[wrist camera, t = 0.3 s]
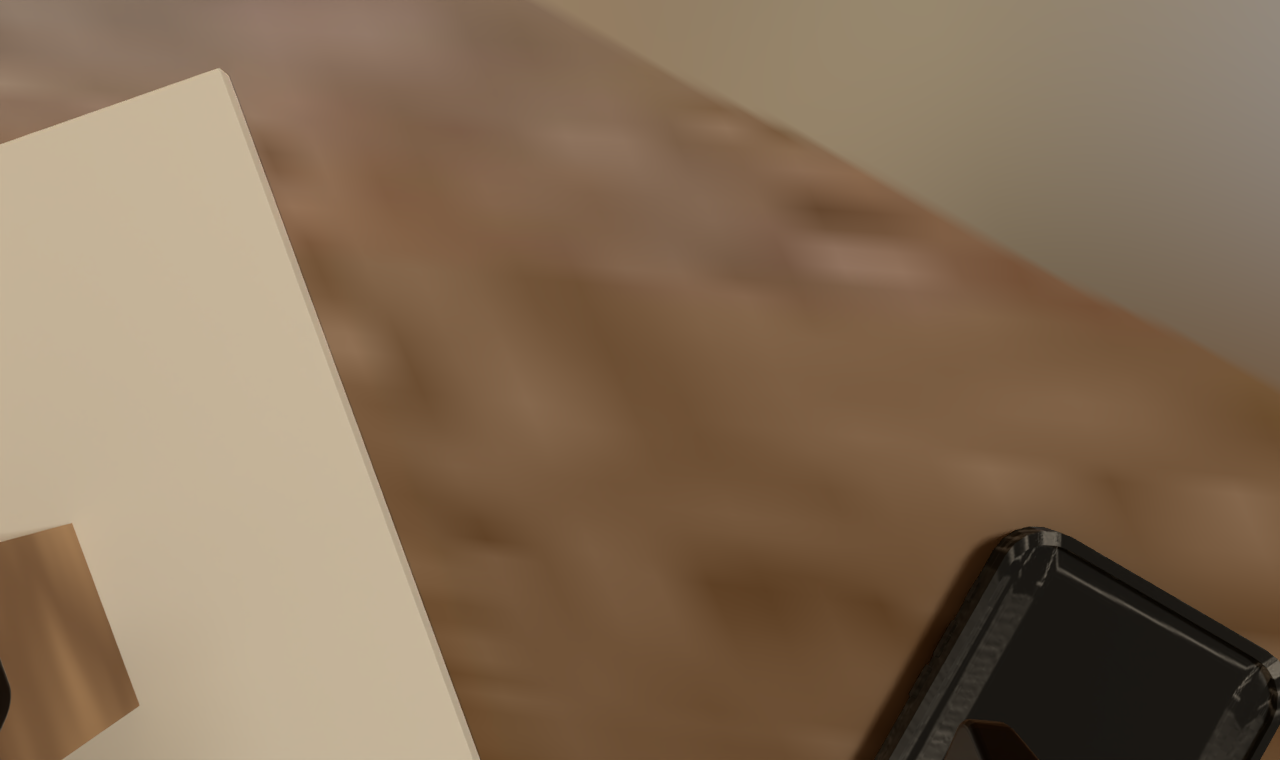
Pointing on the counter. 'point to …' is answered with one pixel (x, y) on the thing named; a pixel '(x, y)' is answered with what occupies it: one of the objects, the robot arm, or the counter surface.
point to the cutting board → (203, 447)
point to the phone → (1088, 666)
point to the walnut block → (56, 649)
